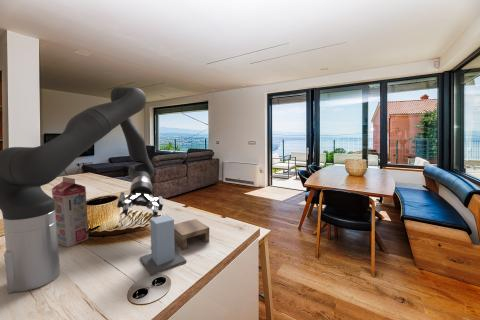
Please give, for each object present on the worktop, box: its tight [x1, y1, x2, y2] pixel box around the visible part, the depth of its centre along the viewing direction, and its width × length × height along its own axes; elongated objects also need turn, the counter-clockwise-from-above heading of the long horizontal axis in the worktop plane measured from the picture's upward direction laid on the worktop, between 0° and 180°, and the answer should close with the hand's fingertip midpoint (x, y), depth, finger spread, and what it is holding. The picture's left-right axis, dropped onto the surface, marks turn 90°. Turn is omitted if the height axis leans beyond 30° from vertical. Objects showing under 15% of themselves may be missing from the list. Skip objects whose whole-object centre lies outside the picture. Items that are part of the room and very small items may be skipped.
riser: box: [174, 218, 210, 251], centre depth 77 cm, size 10×10×5 cm
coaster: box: [139, 248, 187, 276], centre depth 65 cm, size 10×10×1 cm
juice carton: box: [51, 176, 89, 248], centre depth 75 cm, size 7×7×22 cm
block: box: [149, 214, 176, 265], centre depth 64 cm, size 5×5×12 cm
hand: (141, 213), depth 71 cm, fingers open, 8 cm apart
